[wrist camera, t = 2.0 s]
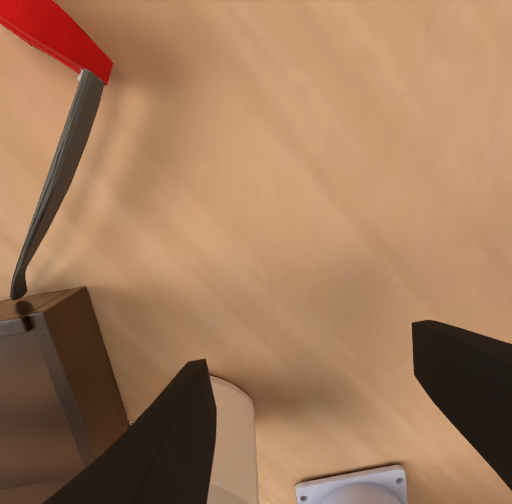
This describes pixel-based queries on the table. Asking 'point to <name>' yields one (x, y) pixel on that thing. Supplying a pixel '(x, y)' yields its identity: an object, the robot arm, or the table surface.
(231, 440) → the eye dropper bottle
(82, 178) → the table surface
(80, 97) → the novelty glasses
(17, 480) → the step shelf
